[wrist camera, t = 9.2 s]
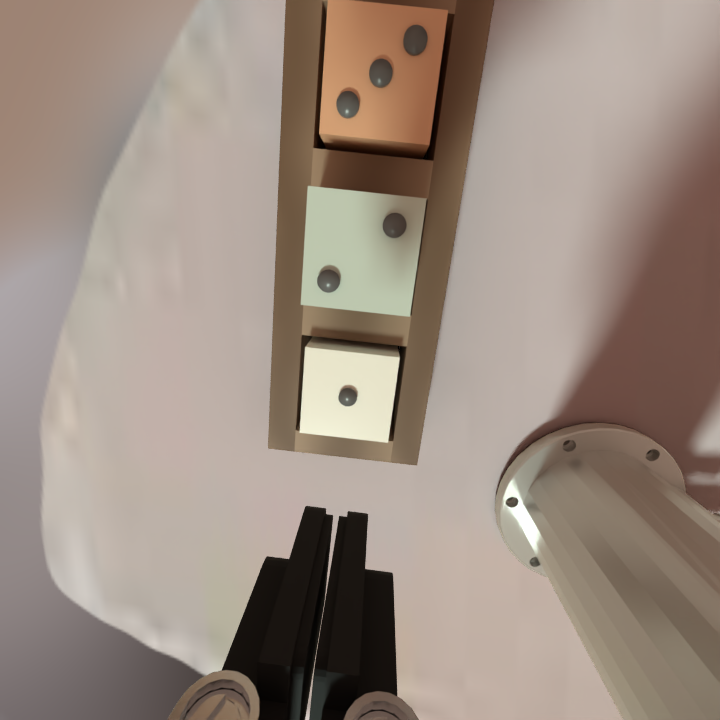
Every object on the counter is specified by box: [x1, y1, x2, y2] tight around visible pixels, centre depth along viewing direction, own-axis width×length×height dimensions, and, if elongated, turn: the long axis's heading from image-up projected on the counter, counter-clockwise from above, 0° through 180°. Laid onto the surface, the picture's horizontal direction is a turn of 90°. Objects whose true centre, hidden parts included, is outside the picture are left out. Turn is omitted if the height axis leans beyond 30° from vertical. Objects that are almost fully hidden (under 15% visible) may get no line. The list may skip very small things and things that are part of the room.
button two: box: [301, 186, 427, 317], centre depth 19 cm, size 5×5×5 cm
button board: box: [268, 0, 494, 465], centre depth 21 cm, size 9×24×4 cm, turn 174°
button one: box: [300, 336, 400, 443], centre depth 23 cm, size 5×5×5 cm
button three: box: [319, 0, 448, 160], centre depth 19 cm, size 5×5×5 cm
